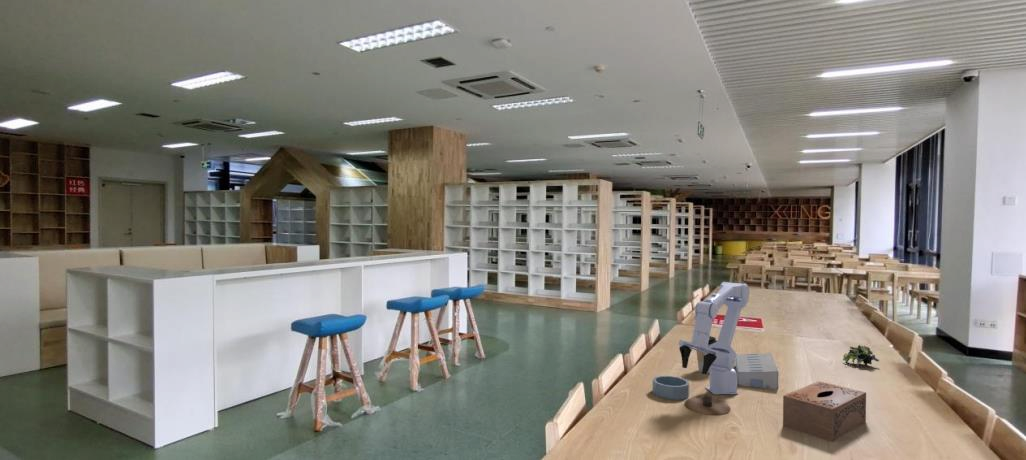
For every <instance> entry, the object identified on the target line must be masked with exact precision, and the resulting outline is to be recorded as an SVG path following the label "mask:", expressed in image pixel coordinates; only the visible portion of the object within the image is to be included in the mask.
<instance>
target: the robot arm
mask: <svg viewBox="0 0 1026 460" xmlns="http://www.w3.org/2000/svg"><path fill="white" fill-rule="evenodd" d="M749 298H750V287H749V285H748V283H741V282H739V283H737V282H727V281H722V282H721V283H720V286H719V290H718V291H717V293H714V292H713V293H711V294H710V295H709V296H708V297H706V299H704V301H699V302H697V303H696V304H695V306H694V320H695V322H694V325H693V332H692V337H691V341H690V342H689V341H687V340H682V339H679V340H678V347H679V352H680V355H681V356H680V357H681V363H682V365H681V367H682V368H683V369H687V368H688V365H689V364H688V363H689V358H690V356H691V352H692V351H693V350H694V351H696V352H697V351H700V352H703V353H706V354H705V355H704V363H703V369H702V372H701V373H702V374H703V375H707V374H708V373H707V372H708V370H709V368H710V373H709V386H705V389H706V390H708V391H709V392H710V393H712V394H713V395H738V394H739V392H738V379H737V371H736V369H734V368H735V366H736V354H737V353H736V351H735V350H734V348H733V347H732V342H733V339H734V335H735V333H736V329H737V326H738V322H739V319H740V315H741V312H742V308H746V305H747V303H748V300H749ZM723 306H726V307H727V309H726V313H725V316H724V319H723V322H722V325H721V328H720V332H719V335H718V338H717V342H716V343H713V344H711V345H710V346H709V348H708V342H709V337H710V336H711V330H712V324H713V320H714V319H715V318H717V316H718V313H719V310H720V309H721V308H722V307H723ZM696 348H697V349H696ZM698 349H701V350H698ZM705 351H706V352H705Z"/></svg>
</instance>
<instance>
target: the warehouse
mask: <svg viewBox="0 0 1026 460" xmlns="http://www.w3.org/2000/svg"><path fill="white" fill-rule="evenodd" d="M735 371H736V374H737V386H744V387H751V388H752V387H754V388H762V389H770V390H777V391H778V390H779V370H778V367H777V365H776V362H775V361H774V357H773V355H772V353H771V352H769V353H766V352H765V353H736V357H735Z"/></svg>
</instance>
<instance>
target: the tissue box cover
mask: <svg viewBox="0 0 1026 460" xmlns="http://www.w3.org/2000/svg"><path fill="white" fill-rule="evenodd" d="M782 399H783V400H782V426H783V427H786V428H789V429H792V430H795V431H798V432H800V433H801V432H802V433H804V434H807V435H810V436H813V437H816V438H819V439H824V440H826V441H829V442H835V441H836V440H838V439H839V438H841V437H842V436H844V435H846V434H848V433H849V432H851V431H853V430H855V429H856V428H858V427H859V426H861V425H862V424H865V423H866V422H867V392H866V391H861V390H857V389H853V388H850V387H844V386H842V385H836V384H832V383H828V382H823V381H820V380H819V381H816V382H813V383H811V384H809V385H806V386H804V387H801V388H799V389H797V390H794V391H791V392H789V393H787V394H785V395H782Z"/></svg>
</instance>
